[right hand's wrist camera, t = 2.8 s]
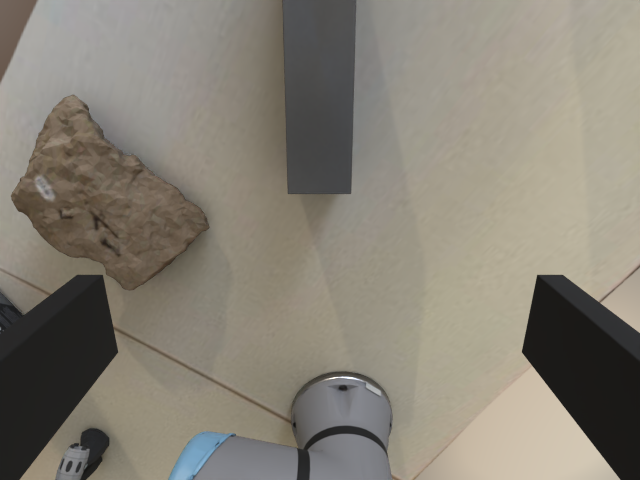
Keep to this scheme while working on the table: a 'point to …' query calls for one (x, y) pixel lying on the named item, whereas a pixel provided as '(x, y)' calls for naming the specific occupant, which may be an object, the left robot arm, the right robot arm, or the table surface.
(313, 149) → the box
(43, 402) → the right robot arm
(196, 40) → the table surface
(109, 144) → the stone
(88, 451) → the robot
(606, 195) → the table surface
